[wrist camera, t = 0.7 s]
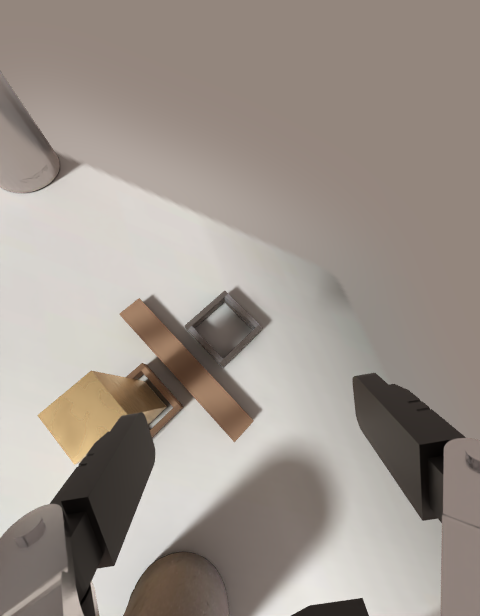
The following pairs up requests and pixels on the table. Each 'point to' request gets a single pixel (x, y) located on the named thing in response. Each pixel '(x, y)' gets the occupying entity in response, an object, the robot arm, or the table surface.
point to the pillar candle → (179, 588)
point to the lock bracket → (191, 364)
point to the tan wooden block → (96, 410)
